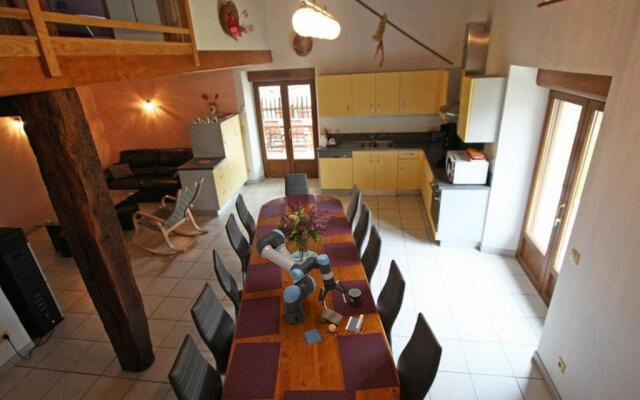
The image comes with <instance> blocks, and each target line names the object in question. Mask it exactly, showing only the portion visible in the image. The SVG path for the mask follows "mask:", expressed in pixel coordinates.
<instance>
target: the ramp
mask: <svg viewBox="0 0 640 400" xmlns="http://www.w3.org/2000/svg"><path fill="white" fill-rule="evenodd" d="M320 313H321V314H320V318H319V319H320V323H321V322H322V323H325V322H326V320H327V321H328V322H331V323H332V324H334V325H335V326H336V325H337V326H339V325H340V324H341V321H342V319H343V317H344V315H342V314H340V313H338V312H337V311H335V310H332V309H330V308H329V307H327V310H326V309H325V307H323V310H322V312H320Z"/></svg>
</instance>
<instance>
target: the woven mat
mask: <svg viewBox="0 0 640 400" xmlns="http://www.w3.org/2000/svg"><path fill="white" fill-rule="evenodd" d="M302 336H303V338H304V340H305V343H306V345H307V346H310V345H313V344H316V343H317V342H318V343H320V342H322V340H323V338H322V335H321V333H320V331H319V329H318V328H315V329H312V330H309V331H308V330H307V331H305V332H303V333H302Z"/></svg>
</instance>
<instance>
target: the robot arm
mask: <svg viewBox="0 0 640 400" xmlns="http://www.w3.org/2000/svg"><path fill="white" fill-rule="evenodd" d="M285 241H286V236H285V234H284V233H283V231H281V230H279V229H276V228H275V229H272V230H270V231H268V232H266V233H265V234H263V235H262V236H259V237H258V238H257V239H256V241H255V246H254V247H255V250H256V252H257V254H258V255H259V256H260V257H262V258H263V259H268V260H269V261H271V262H272V263H274V264H276V265H277V266H278V267H281V268H282V269H284V270H286V272H287V273H288V274H289V276H290V277H291V279H292V281H293V282H292V285H289V286H287V287H285V289H284V290H283V302H284V312H283V319H284V322H285V323H287V324H288V325H298V324H300V323H302V322H303V321H304V320H305V319H306V313H305V310H304V308H303V305H302V303H303V301H305V300H306V299H307V298H308V297H310V296H311V295H312V294H313V293H314V292H315V291H316V289H317V283H316V281H315V279H314V277H312V276H311V275H308V274H309V273H310V272H312V271H313V270H315V269H316V270H319V272H320V275H321V278H322V282H323V285H321V286H319V294H318V298H317V300H318V302H320V303H322V304H321V305H322V306H324V308H325V309H326V310H327V308H328V307H327V305H326V301H325V298H326V296H327V294H328V293H329V292H331V291H334V290H336V291H338V292H341V295H342V297H343V302H344V303H345V304H346V303H347V300H346V298H347V294H346V293H348V289H347V288H346V287H345V286H344V285H343V284H342V283H341V281H340V279H337V281H335V276H334V273H333V271H332V267H331V261H330V259H329V256H328V255H327V254H326V253H324V254H319V255H318V256H310V255H309V256H306V257H305V258H304V260H303V262H302V263H301V264H300V263H297V262H296V260H295V259H294V257H293V256H292V255H291V253H290V251H289V250H288V249H287V247H286V242H285ZM337 285H339V286H340V287H341V288H340V287H339V286H337Z"/></svg>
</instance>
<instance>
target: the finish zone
mask: <svg viewBox="0 0 640 400" xmlns="http://www.w3.org/2000/svg"><path fill="white" fill-rule="evenodd" d="M363 323H364V314H360V316H359V318H358V317H354V316H350V317H349V319H348V321H347V325H345V331H346V330H347V331H351V332H355V333H356V334H359V333H360V331H361V328H362V325H363Z"/></svg>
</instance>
